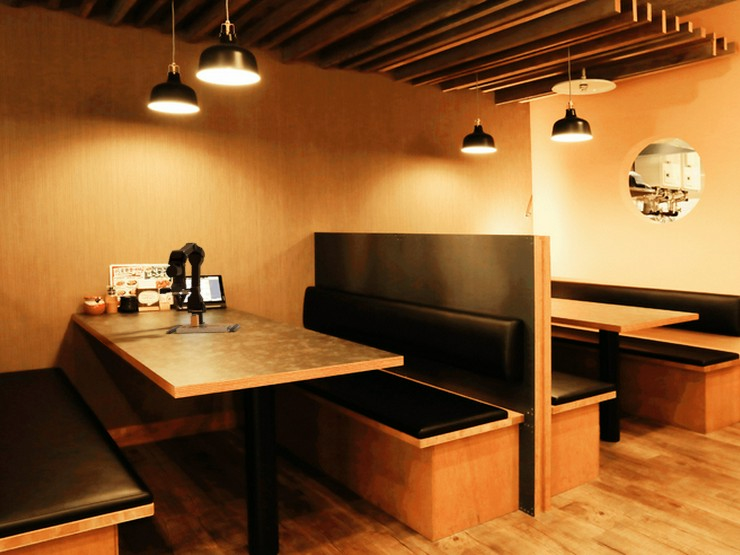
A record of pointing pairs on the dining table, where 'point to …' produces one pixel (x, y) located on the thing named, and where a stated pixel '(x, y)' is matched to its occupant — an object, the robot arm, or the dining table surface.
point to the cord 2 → (235, 328)
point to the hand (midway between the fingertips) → (181, 307)
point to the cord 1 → (173, 329)
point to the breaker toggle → (194, 320)
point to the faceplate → (204, 328)
